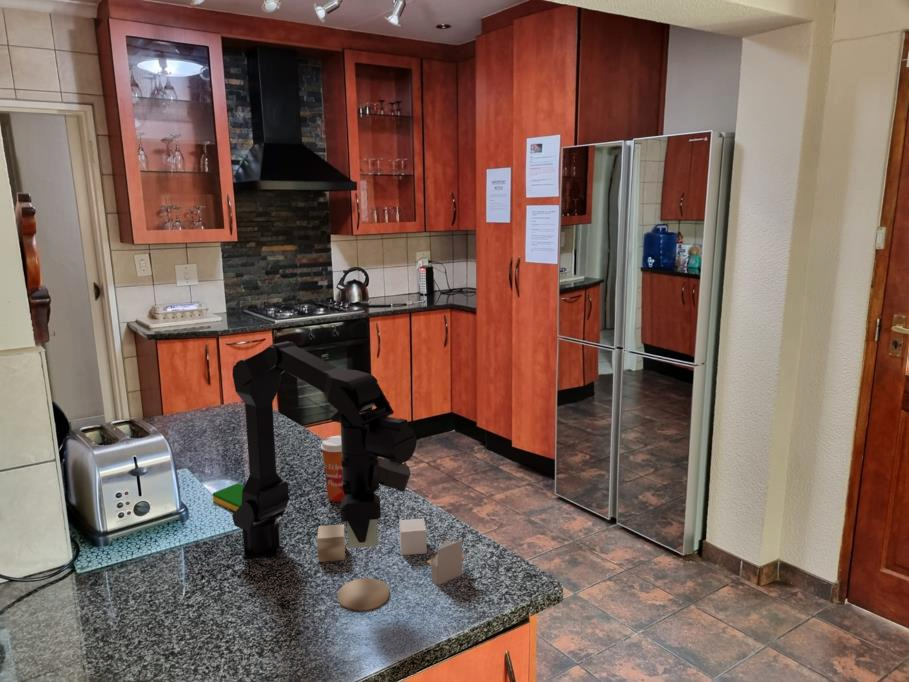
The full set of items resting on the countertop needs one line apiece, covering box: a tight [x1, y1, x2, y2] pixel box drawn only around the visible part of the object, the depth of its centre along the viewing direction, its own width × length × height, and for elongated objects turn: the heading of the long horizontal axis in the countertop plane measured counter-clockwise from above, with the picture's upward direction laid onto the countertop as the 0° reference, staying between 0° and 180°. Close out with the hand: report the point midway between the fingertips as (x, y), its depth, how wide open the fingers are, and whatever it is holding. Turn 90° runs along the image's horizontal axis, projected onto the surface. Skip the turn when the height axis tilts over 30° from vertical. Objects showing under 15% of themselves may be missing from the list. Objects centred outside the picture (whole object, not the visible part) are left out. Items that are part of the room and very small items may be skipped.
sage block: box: [346, 519, 379, 549], centre depth 113 cm, size 5×5×5 cm
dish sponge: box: [212, 482, 245, 512], centre depth 151 cm, size 7×14×2 cm, turn 53°
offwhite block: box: [398, 517, 428, 556], centre depth 131 cm, size 5×5×5 cm
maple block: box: [316, 523, 346, 563], centre depth 129 cm, size 5×5×5 cm
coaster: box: [337, 577, 390, 612], centre depth 115 cm, size 9×9×1 cm
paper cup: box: [320, 435, 345, 503], centre depth 153 cm, size 8×8×14 cm
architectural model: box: [426, 539, 467, 586], centre depth 121 cm, size 3×7×7 cm, turn 128°
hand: (361, 534), depth 113 cm, fingers closed on sage block, 5 cm apart
